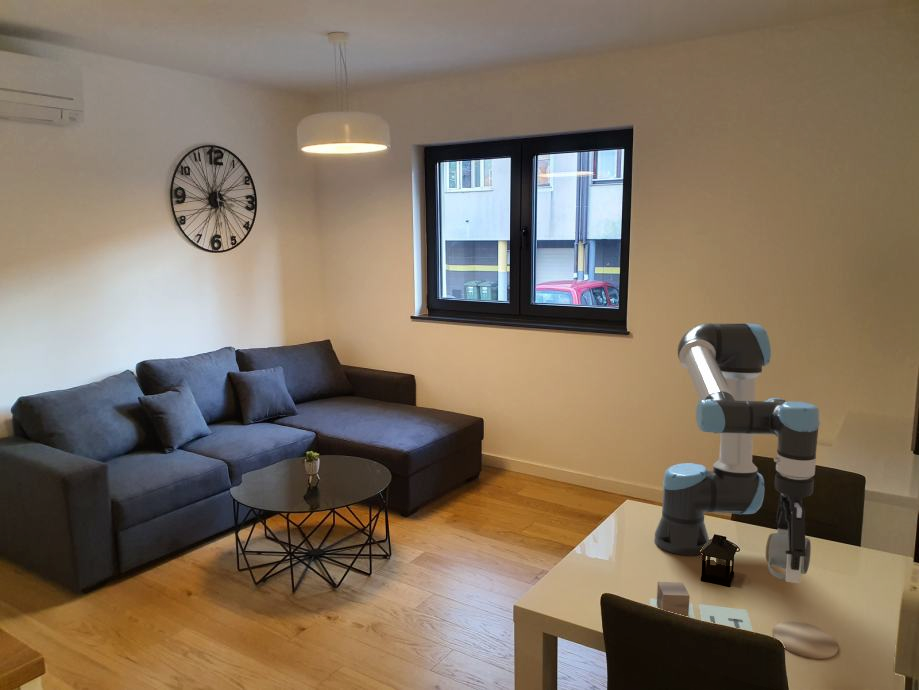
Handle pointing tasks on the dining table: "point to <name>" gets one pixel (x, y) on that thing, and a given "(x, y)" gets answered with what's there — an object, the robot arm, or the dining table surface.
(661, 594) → the walnut block
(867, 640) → the dining table surface
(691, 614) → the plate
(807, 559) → the ceramic mug
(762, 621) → the dining table surface
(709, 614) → the plate
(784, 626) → the coaster
